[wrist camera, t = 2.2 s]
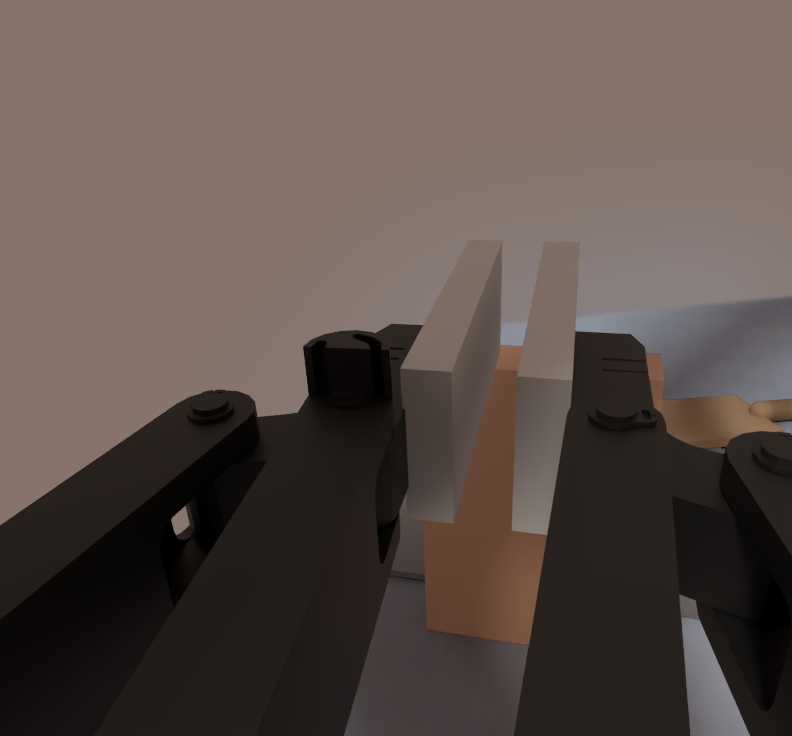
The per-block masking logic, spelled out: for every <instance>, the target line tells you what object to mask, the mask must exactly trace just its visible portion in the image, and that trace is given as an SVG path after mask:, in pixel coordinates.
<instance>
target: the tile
mask: <svg viewBox="0 0 792 736" xmlns="http://www.w3.org/2000/svg"><path fill="white" fill-rule="evenodd" d="M522 349H523V346H512V345H500V353H499V357H498V361H497V365H496V368H495V372H494V376H493V379H492V383H491V387H490V391H489V394H488V398H487V402H486V405H485V409H484V413H483V417H482V420H481V424H480V428H479V431H478V435H477V439H476V443H475V446H474V450H473V454H472V458H471V461H470V465H469V469H468V472H467V476H466V480H465V484H464V487H463V491H462V495H461V498H460V502H459V506H458V510H457V513H456V517H455V521H454V524H452V523H444V522H436V521H427V520H423V540H424V566H425V592H426V618H427V629H428V630H434V631H440V632H447V633H453V634H459V635H466V636H472V637H478V638H485V639H491V640H497V641H504V642H510V643H516V644H523V645H529V642H530V636H531V630H532V623H533V617H534V611H535V605H536V599H537V593H538V587H539V581H540V575H541V569H542V563H543V557H544V551H545V545H546V539H547V535H544V534H535V533H527V532H519V531H512V509H513V478H514V447H515V416H516V385H517V373H518V368H519V363H520V358H521V353H522ZM646 359H647V366H648V375H649V379H650V385H651V391H652V398H653V404H654V408H655V409H656V410H658V411H659V412H661V404H662V397H663V390H664V383H665V379H664V374H663V369H662V364H661V358H660V354H649V353H646Z"/></svg>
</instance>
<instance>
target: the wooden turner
mask: <svg viewBox="0 0 792 736" xmlns="http://www.w3.org/2000/svg"><path fill="white" fill-rule="evenodd" d="M660 413H662V415H663V417H664V420H665V422H666V428H667V432H668V433H669V434H671V435H672V436H673V437H675V438H677V439H679V440H681V441H683V442H685V443H687V444H690V445H693V446H697V447H700V448H715V447H726V446H727V445H728V443H729V441H730V440H731V439H732V438H734V437H736V436H738V435H741V434H743V433H749V432H757V431H769V432H785V431H784V430H782V429H781V428H780V427H778V426H777V425H776V424H774V423H773V422H772V421H781V420H792V399H783V400H770V401H758V402H755V403H753V404H752V405H751V406H750V405H749V404H748V403H746V402H745V401H744V400H742V399H741V398H739V397H738V396H737V395H728V396H715V397H701V398H688V399H675V400H662V404H661V412H660ZM785 433H786V432H785Z"/></svg>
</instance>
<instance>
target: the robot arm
mask: <svg viewBox="0 0 792 736" xmlns="http://www.w3.org/2000/svg"><path fill="white" fill-rule="evenodd" d="M579 246H580V243H576V242H544V247H543V251H542V256H541V261H540V266H539V270H538V276H537V280H536V285H535V290H534V295H533V300H532V305H531V310H530V315H529V319H528V324H527V329H526V334H525V339H524V344H523V349H522V353H521V358H520V363H519V368H518V373H517V385H516V416H515V447H514V478H513V509H512V531H519V532H527V533H535V534H544V535H547V539H546V545H545V551H544V557H543V563H542V569H541V575H540V581H539V587H538V593H537V599H536V605H535V611H534V617H533V623H532V630H531V636H530V642H529V648H528V654H527V660H526V666H525V672H524V678H523V684H522V690H521V696H520V702H519V708H518V714H517V721H516V727H515V733H514V736H690V727H689V714H688V701H687V688H686V675H685V662H684V649H683V636H682V623H681V610H680V597H679V594H680V595H682V596H685V597H688V598H690V599H693V600H696V606H697V612H698V617H699V619H700V621H701V624H702V626H703V628H704V631H705V633H706V635H707V638H708V640H709V642H710V644H711V647H712V649H713V651H714V654H715V656H716V658H717V661H718V663H719V665H720V667H721V670H722V672H723V674H724V677H725V679H726V681H727V684H728V686H729V688H730V690H731V693H732V695H733V697H734V700H735V702H736V704H737V707H738V709H739V711H740V714H741V716H742V718H743V720H744V723H745V725H746V727H747V730H748V732H749V734H750V736H792V435H790V434H791V433H785V432H769V431H757V432H749V433H743V434H741V435H738V436H736V437H734V438H732V439H731V440H730V441H729V443H728V445H727V446H726V448H725V453H724V454H722V453H718V452H714V451H710V450H707V449H703V448H700V447H697V446H693V445H690V444H687V443H685V442H683V441H681V440H679V439H677V438H675V437H673V436H672V435H671V434H669V433H668V432H667V428H666V422H665V420H664V417H663V415H662V413H660V412H659V411H658V410H656V409H655V408H654V404H653V398H652V391H651V385H650V379H649V375H648V366H647V359H646V353H645V347H644V346H643V345H642V344H641V343H640V342H639V341H638V340H636V339H635V338H634V337H633V336H632V335H631V334H615V333H596V332H577V331H575V323H576V304H577V285H578V266H579ZM501 279H502V241H489V240H487V241H486V240H485V241H484V240H468V243H467V244H466V246H465V248H464V250H463V252H462V254H461V256H460V257H459V259H458V261H457V263H456V265H455V267H454V269H453V270H452V273H451V274H450V276H449V278H448V280H447V282H446V284H445V285H444V287H443V289H442V291H441V293H440V295H439V297H438V299H437V300H436V302H435V304H434V306H433V308H432V310H431V312H430V313H429V315H428V318H427V319H426V321H425V323H424V325H405V324H391V325H389V326H387V327H385V328H384V329H382V330H380V331H379V332H377V333H373V332H365V331H358V330H355V331H339V332H334V333H329V334H324V335H322V336H319V337H317V338H314V339H312V340H310V341H309V342H308V343H307V344H306V345H304V346H303V349H304V358H305V366H306V375H307V384H308V392H309V396H308V397H307V399H306V400H305V402H304V404H303V405H302V407H301V408H300V410H299V411H298V413H292V414H286V415H275V416H264V417H257V412H256V405H255V402H254V401H253V399H252V398H251V397H250V396H249V395H246V394H243V393H241V392H237V391H226V390H215V391H213V390H211V391H205V392H203V393H201V394H198V395H195V396H191V397H189V398H187V399H185V400H183V401H181V402H179V403H177V404H176V405H174V406H173V407H171V408H170V409H169V410H167V411H166V412H164V413H163V414H161V415H160V416H158V417H157V418H155V419H154V420H153V421H151V422H150V423H148V424H147V425H145V426H144V427H142V428H141V429H140V430H138V431H137V432H135V433H134V434H132V435H131V436H130V437H128V438H126V439H125V440H124V441H122V442H121V443H119V444H118V445H117V446H115V447H113V448H112V449H110V450H109V451H108V452H106V453H105V454H103V455H102V456H100V457H99V458H97V459H96V460H95V461H93V462H92V463H90V464H89V465H87V466H86V467H85V468H83V469H81V470H80V471H79V472H77V473H76V474H74V475H73V476H71V477H70V478H68V479H67V480H66V481H64V482H63V483H61V484H60V485H58V486H57V487H55V488H54V489H52V490H51V491H50V492H48V493H47V494H45V495H44V496H42V497H41V498H39V499H38V500H37V501H35V502H34V503H32V504H31V505H29V506H28V507H26V508H25V509H23V510H22V511H20V512H19V513H18V514H16V515H15V516H13V517H12V518H10V519H9V520H7V521H6V522H5V523H3V524H2V525H0V736H344V733H345V729H346V726H347V722H348V719H349V715H350V712H351V708H352V705H353V701H354V698H355V694H356V691H357V687H358V684H359V680H360V677H361V673H362V670H363V666H364V663H365V659H366V656H367V653H368V649H369V646H370V642H371V639H372V635H373V632H374V628H375V625H376V621H377V618H378V614H379V611H380V607H381V604H382V600H383V597H384V593H385V590H386V586H387V583H388V579H389V576H390V572H391V569H392V565H393V562H394V558H395V555H396V551H397V548H398V544H399V541H400V513H399V511H400V508H401V505H402V503H403V500H404V498H405V495H406V494H407V513H408V518H411V519H419V520H427V521H436V522H444V523H452V524H454V521H455V517H456V513H457V510H458V506H459V502H460V498H461V495H462V491H463V487H464V484H465V480H466V476H467V472H468V469H469V465H470V461H471V458H472V454H473V450H474V446H475V443H476V439H477V435H478V431H479V428H480V424H481V420H482V417H483V413H484V409H485V405H486V402H487V398H488V394H489V391H490V387H491V383H492V379H493V376H494V372H495V368H496V365H497V361H498V357H499V353H500V332H501V281H502V280H501ZM184 506H186V510H187V514H188V519H189V523H190V526H188V527H187V528H186V529H185V530H184V531H183V532H182V533H180V534H178V535H176V534H175V533H174V530H173V526H172V522H171V519H172V517H173V516H174V515H175V514H176V513H178V512H179V511H180V510H181V509H182V508H183V507H184Z"/></svg>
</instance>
